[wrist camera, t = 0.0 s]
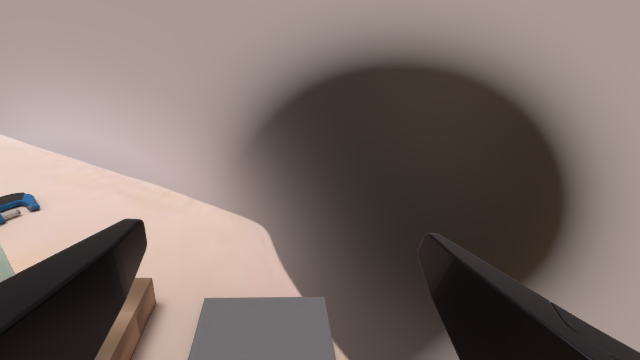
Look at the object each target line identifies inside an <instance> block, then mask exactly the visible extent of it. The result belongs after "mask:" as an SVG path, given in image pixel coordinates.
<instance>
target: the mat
mask: <svg viewBox="0 0 640 360" xmlns="http://www.w3.org/2000/svg"><path fill="white" fill-rule="evenodd" d="M188 360H336V359H335V353H334V348H333V342H332V337H331V332H330V326H329V320H328V315H327V310H326V304H325V298H324V297H273V298H205V299H204V303H203V306H202V310H201V314H200V317H199V321H198V325H197V328H196V332H195V336H194V339H193V343H192V347H191V350H190V354H189V358H188Z"/></svg>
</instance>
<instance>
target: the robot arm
mask: <svg viewBox="0 0 640 360" xmlns="http://www.w3.org/2000/svg"><path fill="white" fill-rule="evenodd" d="M146 247H147V239H146V233H145V227H144V223H143V221H142V220H140V219H124V220H122V221H120V222H118V223H116V224H114V225H112V226H110V227H108V228H106V229H104V230H102V231H100V232H98V233H96V234H94V235H92V236H90V237H88V238H86V239H84V240H82V241H80V242H78V243H76V244H74V245H72V246H70V247H69V248H67V249H65V250H63V251H61V252H59V253H57V254H55V255H53V256H51V257H49V258H47V259H45V260H43V261H41V262H39V263H37V264H35V265H33V266H31V267H29V268H27V269H25V270H23V271H21V272H19V273H17V274H15V275H13V276H11V277H9V278H7V279H6V280H4V281H2V282H0V360H95V358H96V356H97V354H98V352H99V350H100V348H101V346H102V345H103V343H104V341H105V339H106V337H107V335H108V333H109V331H110V330H111V328H112V326H113V324H114V322H115V320H116V318H117V316H118V314H119V313H120V311H121V309H122V307H123V305H124V303H125V301H126V298H127V296H128V294H129V291H130V289H131V286H132V284H133V281H134V279H135V276H136V274H137V271H138V269H139V266H140V263H141V261H142V258H143V256H144V253H145V251H146ZM417 256H418V260H419V263H420V265H421V268H422V271H423V274H424V277H425V280H426V283H427V286H428V289H429V291H430V294H431V297H432V299H433V302H434V304H435V306H436V308H437V311H438V313H439V315H440V317H441V320H442V322H443V324H444V326H445V328H446V331H447V333H448V335H449V337H450V339H451V342H452V344H453V346H454V348H455V350H456V353H457V355H458V357H459V359H460V360H640V353H639V352H637V351H636V350H634V349H632V348H630V347H628V346H626V345H625V344H623V343H621V342H619V341H618V340H616V339H614V338H612V337H610V336H609V335H607V334H605V333H603V332H602V331H600V330H598V329H596V328H594V327H593V326H591V325H589V324H587V323H586V322H584V321H582V320H581V319H579V318H577V317H576V316H574V315H572V314H571V313H569V312H567V311H566V310H564V309H562V308H561V307H559V306H557V305H556V304H554V303H552V302H550V301H549V300H547V299H546V298H544V297H542V296H541V295H539V294H537V293H536V292H534V291H532V290H531V289H529V288H527V287H526V286H524V285H522V284H521V283H519V282H517V281H516V280H514V279H512V278H511V277H509V276H507V275H506V274H504V273H502V272H501V271H499V270H497V269H496V268H494V267H492V266H491V265H489V264H487V263H486V262H484V261H483V260H481V259H479V258H478V257H476V256H474V255H473V254H471V253H469V252H467V251H466V250H464V249H463V248H461V247H459V246H457V245H456V244H454V243H453V242H451V241H449V240H448V239H446V238H444V237H443V236H441V235H439V234H435V233H427V234H426V235H425V236H424V238H423V240H422V242H421V244H420V246H419V248H418V252H417Z"/></svg>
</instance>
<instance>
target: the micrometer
mask: <svg viewBox="0 0 640 360" xmlns="http://www.w3.org/2000/svg"><path fill="white" fill-rule="evenodd" d="M16 206H26V207H27V209H28V210H36V209H39V208H40V206H39V205H38V204H37V203H36V201H35V199H34V196H32V195H30V194H24V193H15V194H10V195H6V196H2V197H0V211H3V210H6V209H9V208H13V207H16ZM17 214H20V211H19V210H15V211H12V212H9V213H6V214H2V215H1V214H0V224H2V223H4V222H5V220H4V219H5V218H8V217H11V216H14V215H17Z"/></svg>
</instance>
